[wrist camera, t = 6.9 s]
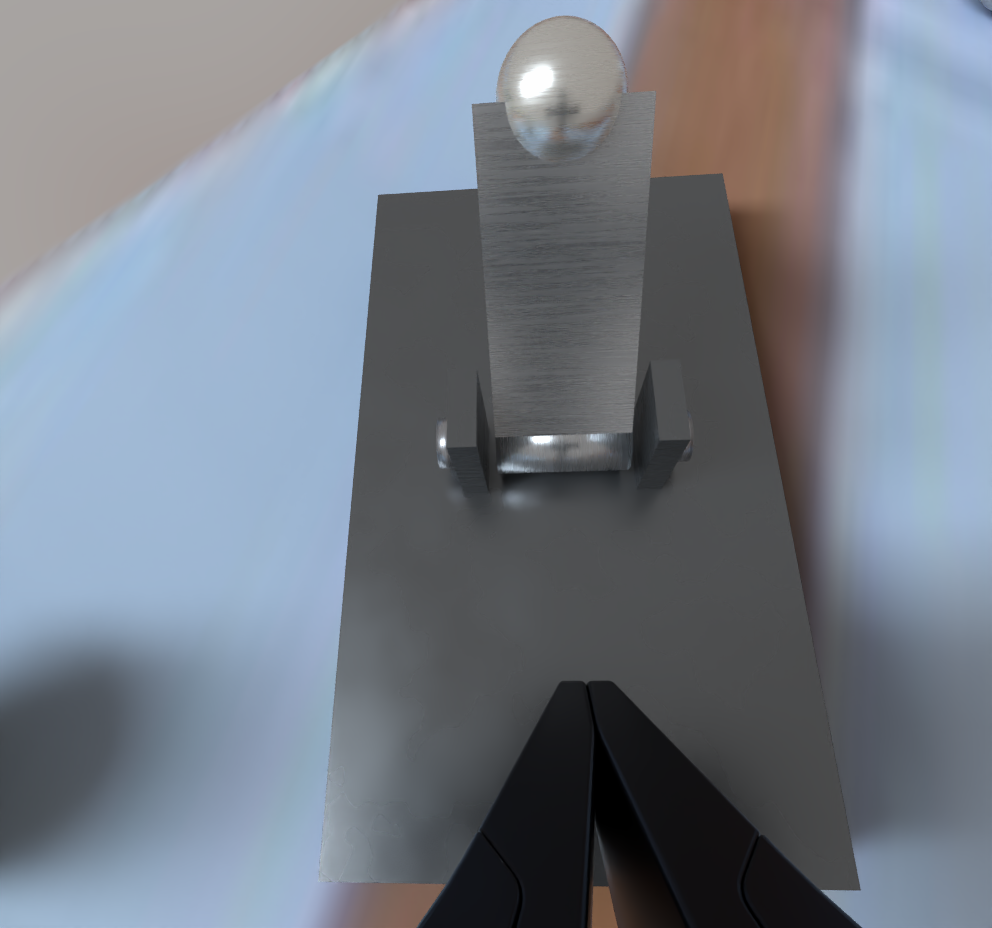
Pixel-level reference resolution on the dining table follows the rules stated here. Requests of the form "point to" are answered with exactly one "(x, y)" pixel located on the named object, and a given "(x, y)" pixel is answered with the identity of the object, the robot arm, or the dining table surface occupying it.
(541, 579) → the lever base
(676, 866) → the robot arm
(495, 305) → the lever
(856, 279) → the dining table surface
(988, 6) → the donut
